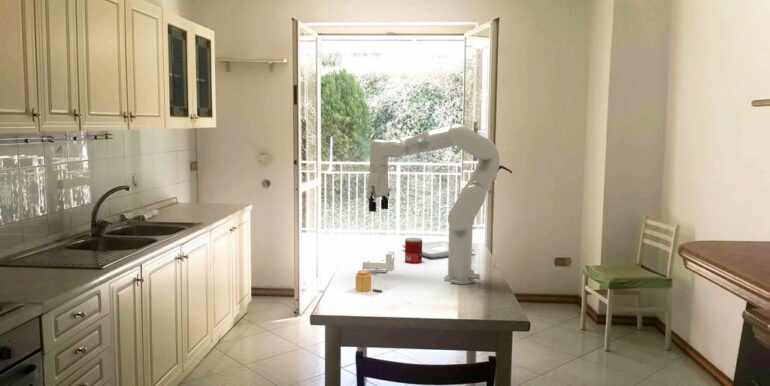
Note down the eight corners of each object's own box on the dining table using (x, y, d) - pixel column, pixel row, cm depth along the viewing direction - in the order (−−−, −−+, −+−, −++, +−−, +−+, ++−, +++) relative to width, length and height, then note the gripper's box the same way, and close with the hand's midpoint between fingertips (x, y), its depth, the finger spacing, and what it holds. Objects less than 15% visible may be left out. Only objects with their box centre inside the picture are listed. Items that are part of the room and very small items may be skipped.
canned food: (422, 263, 285) (422, 240, 284) (405, 263, 286) (405, 240, 284) (421, 260, 293) (421, 237, 292) (404, 260, 293) (405, 237, 292)
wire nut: (361, 287, 237) (361, 269, 236) (373, 289, 234) (373, 270, 233) (353, 290, 232) (353, 272, 231) (365, 292, 229) (365, 273, 228)
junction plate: (399, 288, 241) (399, 274, 240) (372, 300, 224) (373, 285, 223) (373, 284, 247) (373, 270, 246) (345, 295, 230) (345, 281, 229)
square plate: (475, 255, 307) (475, 248, 306) (429, 261, 293) (429, 253, 293) (444, 246, 330) (444, 239, 330) (400, 251, 317) (400, 243, 316)
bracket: (394, 267, 278) (394, 251, 277) (391, 271, 271) (391, 254, 270) (365, 266, 280) (365, 250, 279) (362, 269, 273) (362, 253, 273)
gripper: (381, 168, 264) (381, 207, 266) (360, 170, 249) (359, 211, 251) (397, 168, 261) (396, 208, 262) (375, 170, 246) (375, 213, 247)
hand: (378, 210), depth 257 cm, fingers open, 9 cm apart
